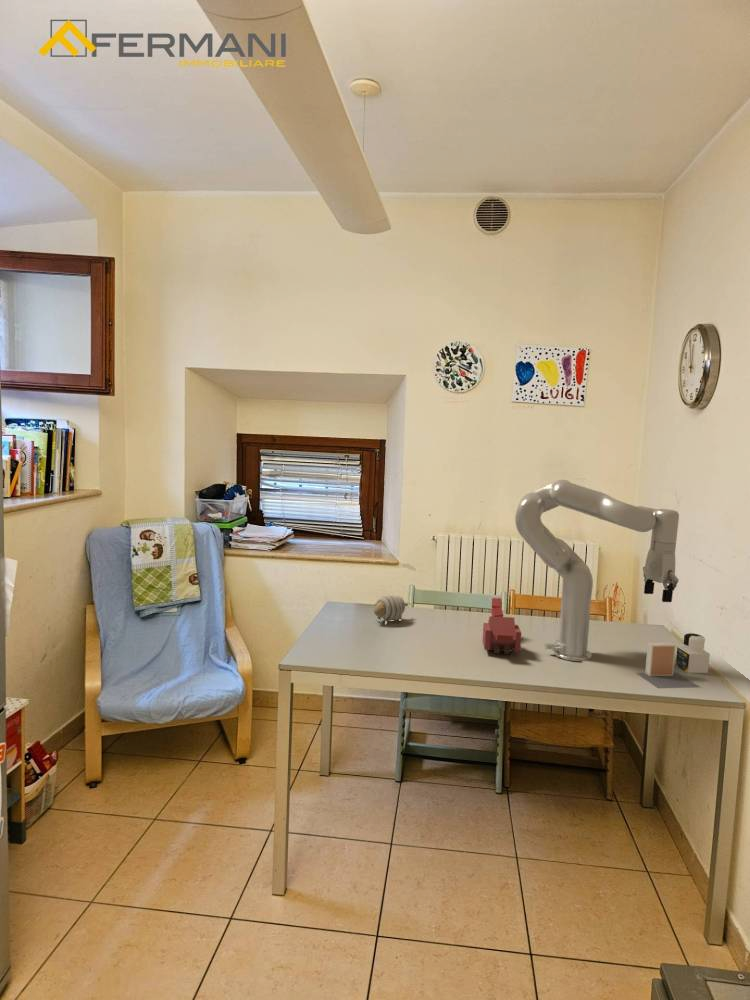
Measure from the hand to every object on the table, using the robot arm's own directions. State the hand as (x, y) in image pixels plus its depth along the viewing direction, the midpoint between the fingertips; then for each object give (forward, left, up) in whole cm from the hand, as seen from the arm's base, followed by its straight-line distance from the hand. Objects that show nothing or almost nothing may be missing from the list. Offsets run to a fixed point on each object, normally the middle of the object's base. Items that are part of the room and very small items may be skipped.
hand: (657, 597), depth 207 cm
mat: (-3, -14, -23) cm, 27 cm away
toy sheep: (-80, +50, -23) cm, 98 cm away
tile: (-3, -9, -23) cm, 25 cm away
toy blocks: (-46, +20, -23) cm, 56 cm away
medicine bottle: (+11, -5, -23) cm, 26 cm away
